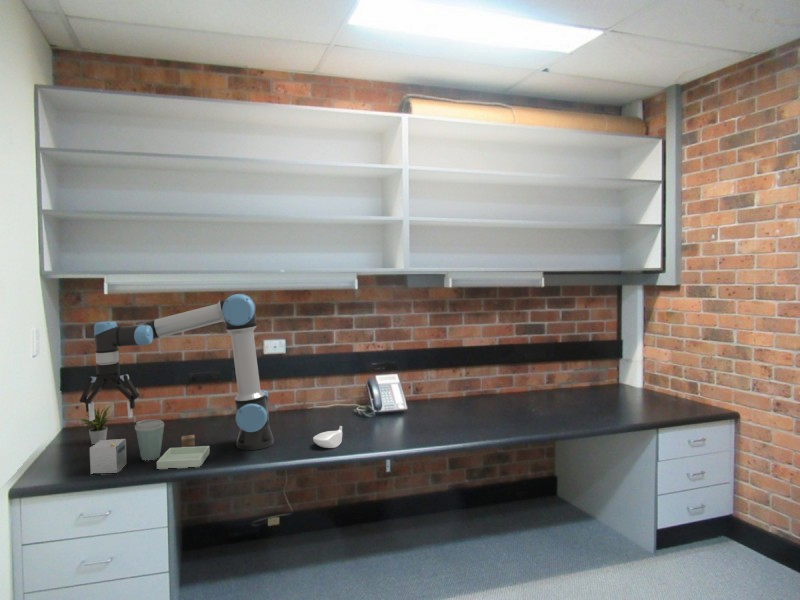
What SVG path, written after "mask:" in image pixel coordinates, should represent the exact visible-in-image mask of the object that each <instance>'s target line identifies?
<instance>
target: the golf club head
mask: <svg viewBox="0 0 800 600" xmlns="http://www.w3.org/2000/svg"><path fill="white" fill-rule="evenodd" d="M342 440H343V426H342V425H339V427H338V429H336V430H328V431H323V432H320V433H318V434H316V435H314V436H313V437H312V441H313V442H314V444H316V445H317V446H318V447H320V448H323V449H324V448H325V449H335V448H337V447H339V446H340V445H341V444H342Z"/></svg>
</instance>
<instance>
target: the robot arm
mask: <svg viewBox="0 0 800 600" xmlns="http://www.w3.org/2000/svg"><path fill="white" fill-rule="evenodd" d="M256 310H257V305H256V302H255V300H254V298H253V297H252V296H250V294H246V293H237V294H232V295H230V296H229V297H227V298H225V299H222V300H219V301H218V302H217V303H215V304H211V305H208V306H204V307H199V308H195V309H191V310H188V311H185V312H184V311H183V312H181V313H175V314H173V315H168V316H165V317H161V318H156V319H153V320H149V321H144V322H140V323H139V324H133V325H128V326H127V325H126V326H118V324H117V322H116V321H100V322H96V323H95V324H94V326H93V331H94V332H93V337H94V338H93V339H94V348H95V350H94V351H95V363H96V365H95V367H96V376H93V375H92V376H89V377H87V383H86V386H85V387H84V390H83V392H82V394H81V397H80V399H79V402H80V403H84V404H85V412H87V413H89V414H88V416H89V417H88V418H89V419H88V420H89V421H92V420H94V419H95V415H94V408H95V402H94V401H93V399H94V398H95V397H96V396H97V395H98V393H99V392H100V391H101V390H102V389H108V388H109V389H111V388H112V389H113V388H116V389H117V390H118V391H119V392H120V393H121V394H122V395H123V396H124V397H125V398H126V399H127V402H126V405H127V406H126V408H127V419H132V418H133V417H134V413H133V412H134V411H133V410H134V409H135V408H136V403H135V400H137V399H138V398H140V396H141V395H140V393H139V392H138V390H137V389H136V387H135V386H134V384H133V382H132V380H131V378H130V374H128V373H126V374H123V375H121V373H120V372H121V370H120V369H121V368H120V363H119V361H120V357H119V355H120V354H119V347H130V346H131V347H133V346H134V347H136V346H141V347H143V346H147V345H151V344H152V343H153V341H154V340H156V339H160V338H164V337H167V336H168V337H169V336H170V335H171V336H172V335H175V334H180V333H183V332H187V331H190V330H194V329H195V330H196V329H198V328H202V327H206V326H210V325H213V324H214V325H215V324H217V323H221V322H223V323H225V324H224V325H225V330H226V332H228V333H229V334H230V337H231V338H230V339H231V346H232V354H233V362H234V369H235V377H236V387H237V395H236V396H235V397H234V402H235V412H236V414H235V423H236V424H237V426H238V428H239V432H238V434H237V435H238V436H237V438H236V447H237V449H240V450H245V451H255V450H261V449H266V448H269V447H270V446H273V445H274V442H275V441H274V436H273V433H272V430H271V427H270V420H269V417H270V416H269V415H270V413H269V410H270V409H269V392H268V390H265V389H261V384H260V374H259V367H258V360H257V359H258V357H257V349H256V340H255V333H254V331H255V329H256V328H257V327H258V326H257V315H256ZM121 380H122V381H123V382H124V384H125V386H126V387H127V388H126V387H125V386H124V385H123V383H122V382H121ZM96 382H97V383H98V385H96V387H95V389H94V390H93V391H92V392H91V390H92V387H93V386H94V383H96ZM90 392H91V393H90ZM89 394H90V395H89Z"/></svg>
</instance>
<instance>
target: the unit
mask: <svg viewBox="0 0 800 600" xmlns="http://www.w3.org/2000/svg"><path fill="white" fill-rule="evenodd" d="M89 463H90V464H89V465H90V469H89V470H90V475H91V474H93V473H117V472H118V473H119V472H121V471H122V470H123V469H124V468H125V467H126V466H127V465H128V463H127V439H126V438H120V439H119V438H117V439H116V438H115V439H106V440H100V441H99V442H97V443H96V444H95V445H91V447H89ZM126 464H127V465H126ZM125 465H126V466H125ZM124 466H125V467H124ZM123 467H124V468H123ZM122 468H123V469H122ZM118 473H117V474H118Z"/></svg>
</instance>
